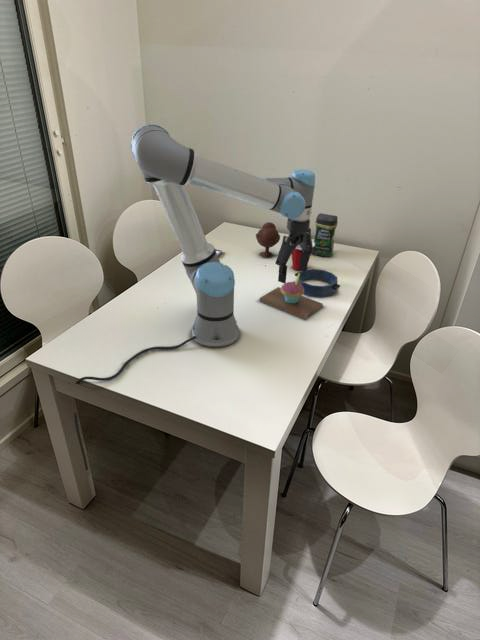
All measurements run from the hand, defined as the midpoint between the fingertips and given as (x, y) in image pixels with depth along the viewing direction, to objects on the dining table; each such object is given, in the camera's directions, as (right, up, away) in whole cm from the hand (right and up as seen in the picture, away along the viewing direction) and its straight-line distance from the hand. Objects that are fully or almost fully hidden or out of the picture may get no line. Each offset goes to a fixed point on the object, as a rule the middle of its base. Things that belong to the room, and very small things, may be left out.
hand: (292, 276), depth 163 cm
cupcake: (0, -9, +5) cm, 10 cm away
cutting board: (0, -10, +6) cm, 12 cm away
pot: (+11, -3, +18) cm, 22 cm away
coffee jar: (+19, +15, +48) cm, 54 cm away
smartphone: (-33, +12, +41) cm, 54 cm away
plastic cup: (+7, +6, +34) cm, 35 cm away
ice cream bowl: (-7, +14, +45) cm, 48 cm away
